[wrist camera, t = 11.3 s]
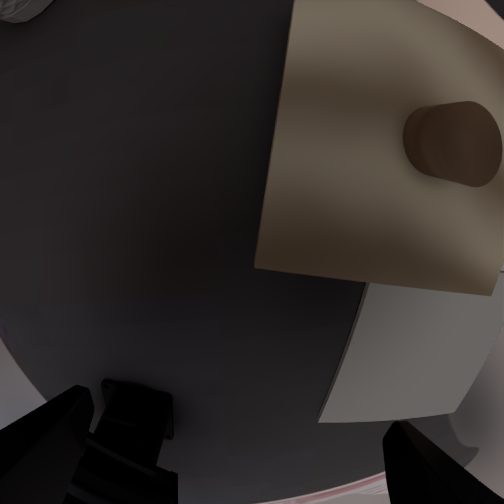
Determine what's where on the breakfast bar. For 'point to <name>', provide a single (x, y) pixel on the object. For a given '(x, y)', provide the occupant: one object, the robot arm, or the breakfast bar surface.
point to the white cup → (21, 9)
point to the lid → (387, 150)
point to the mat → (412, 353)
